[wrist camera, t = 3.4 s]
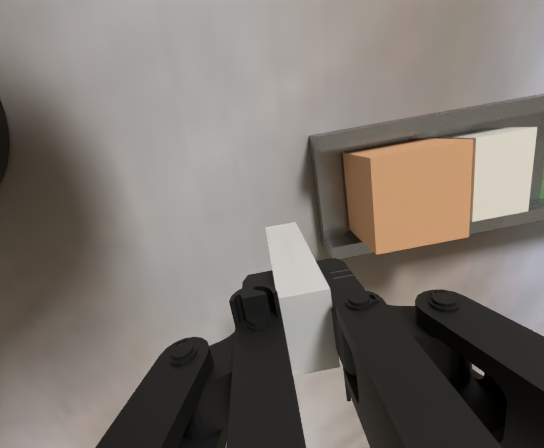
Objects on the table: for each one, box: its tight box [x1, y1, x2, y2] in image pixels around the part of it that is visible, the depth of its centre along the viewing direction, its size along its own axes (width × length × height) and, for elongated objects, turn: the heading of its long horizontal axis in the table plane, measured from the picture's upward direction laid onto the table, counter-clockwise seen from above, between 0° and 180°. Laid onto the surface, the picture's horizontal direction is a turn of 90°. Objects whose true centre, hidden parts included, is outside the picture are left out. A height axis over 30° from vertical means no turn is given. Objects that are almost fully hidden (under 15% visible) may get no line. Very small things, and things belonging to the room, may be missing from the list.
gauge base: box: [309, 94, 544, 259], centre depth 20 cm, size 28×9×7 cm, turn 100°
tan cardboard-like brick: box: [343, 138, 473, 255], centre depth 20 cm, size 6×6×5 cm
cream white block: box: [440, 127, 537, 222], centre depth 21 cm, size 4×6×4 cm
